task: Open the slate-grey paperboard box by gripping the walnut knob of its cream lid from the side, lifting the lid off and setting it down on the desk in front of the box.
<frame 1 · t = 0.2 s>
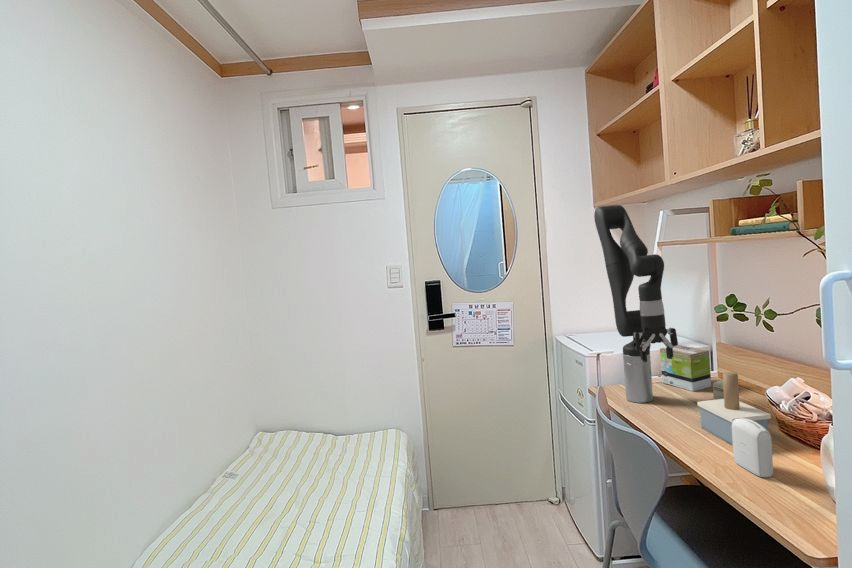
hand: (657, 360, 169), 18 cm above the table, tool pointing down, fingers open, 8 cm apart
photo printer: (752, 469, 124), on the table
skincare box: (725, 413, 163), on the table
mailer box: (733, 435, 145), on the table
tea box: (686, 385, 195), on the table
lid: (732, 411, 145), point 7 cm above the table, touching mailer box
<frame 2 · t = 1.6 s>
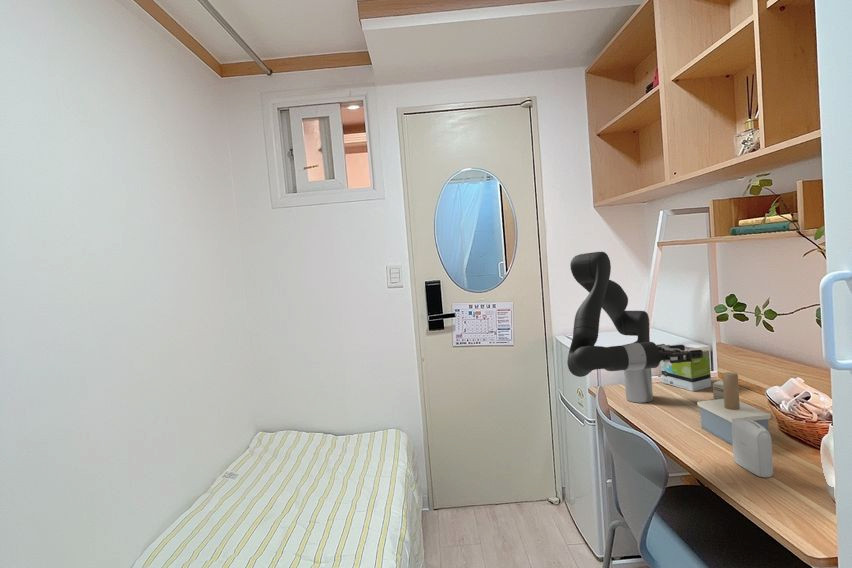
hand: (692, 350, 143), 26 cm above the table, tool horizontal, fingers open, 8 cm apart
nothing on the table moved.
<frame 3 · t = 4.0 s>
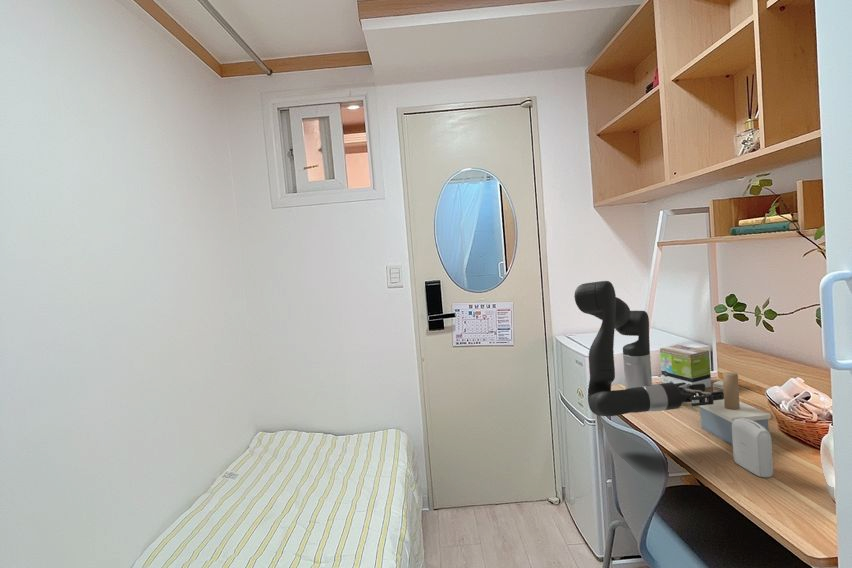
hand: (713, 391, 144), 14 cm above the table, tool horizontal, fingers open, 8 cm apart
nothing on the table moved.
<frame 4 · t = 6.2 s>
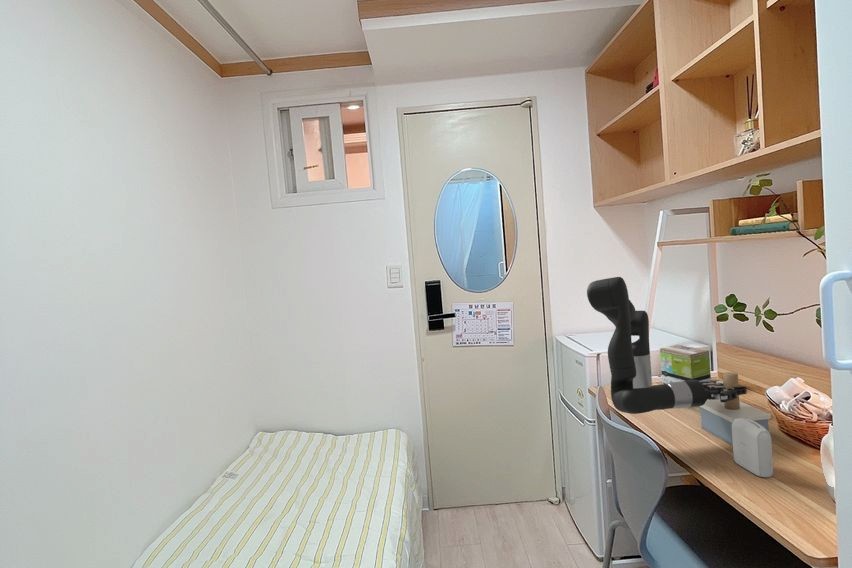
hand: (740, 387, 144), 14 cm above the table, tool horizontal, fingers closed on lid, 3 cm apart
lid: (732, 411, 145), point 7 cm above the table, touching gripper, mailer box
everything else where it was.
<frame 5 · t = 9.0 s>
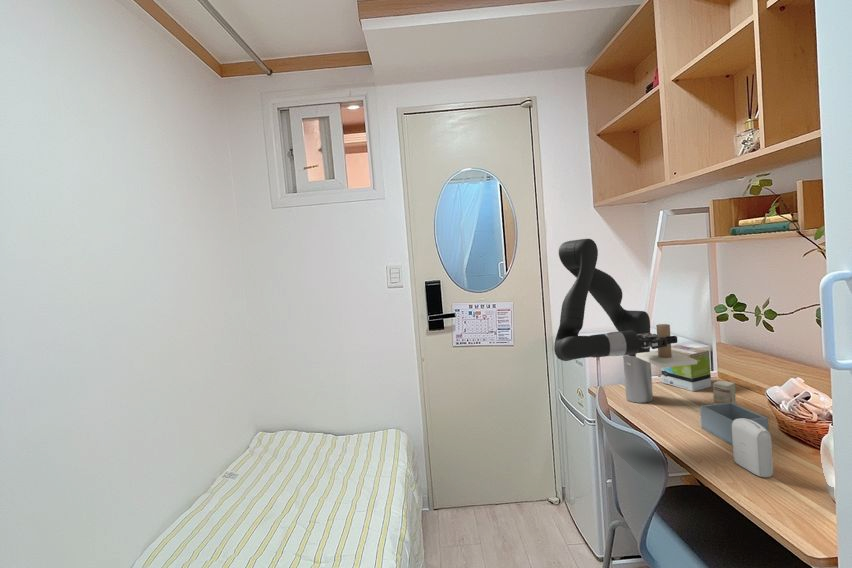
hand: (672, 338, 155), 28 cm above the table, tool horizontal, fingers closed on lid, 3 cm apart
lid: (665, 360, 155), point 21 cm above the table, touching gripper
everything else where it was.
when the fingers open (8 cm above the table, at t = 11.8 s): lid drops 2 cm, on the table.
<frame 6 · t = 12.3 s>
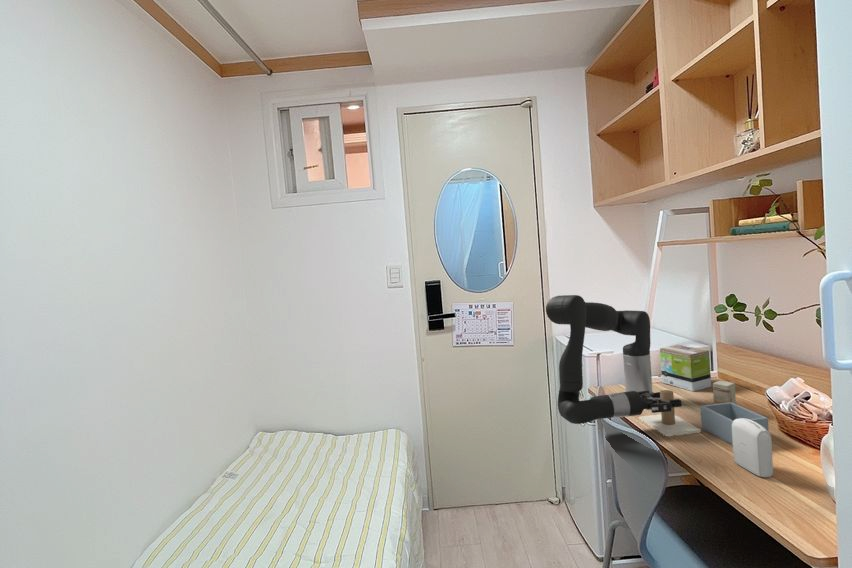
hand: (673, 398, 156), 8 cm above the table, tool horizontal, fingers open, 8 cm apart
lid: (668, 426, 157), on the table
everything else where it was.
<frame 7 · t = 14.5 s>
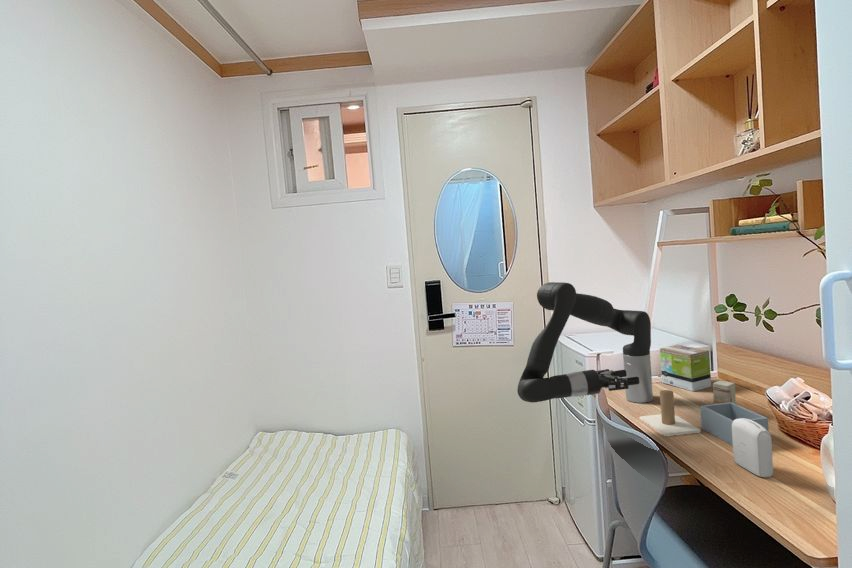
hand: (632, 376, 155), 17 cm above the table, tool horizontal, fingers open, 8 cm apart
nothing on the table moved.
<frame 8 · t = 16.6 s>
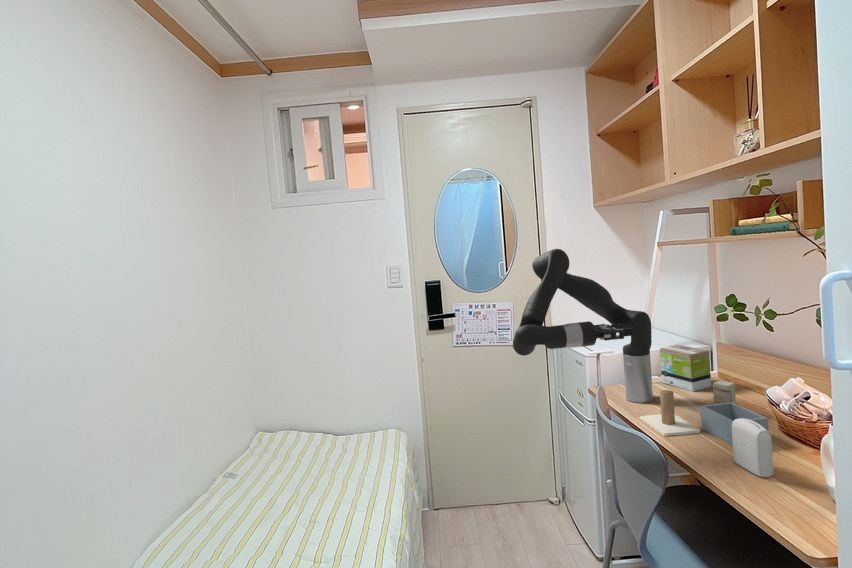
hand: (628, 329, 154), 32 cm above the table, tool horizontal, fingers open, 8 cm apart
nothing on the table moved.
at the end: lid inside the target area (1.7 cm from its centre), on the table; lid tilted 0°; the gripper is holding nothing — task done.
